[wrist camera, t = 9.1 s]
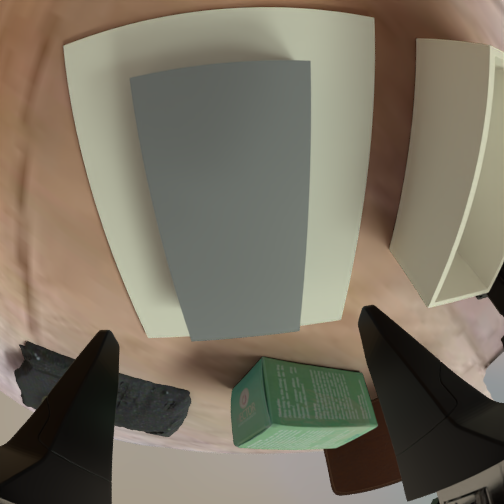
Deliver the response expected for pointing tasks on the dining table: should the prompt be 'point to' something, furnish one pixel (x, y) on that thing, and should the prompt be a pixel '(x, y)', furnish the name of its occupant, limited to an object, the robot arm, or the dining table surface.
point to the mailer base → (453, 173)
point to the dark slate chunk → (128, 398)
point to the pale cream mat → (212, 52)
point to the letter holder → (364, 460)
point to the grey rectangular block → (230, 190)
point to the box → (299, 407)
